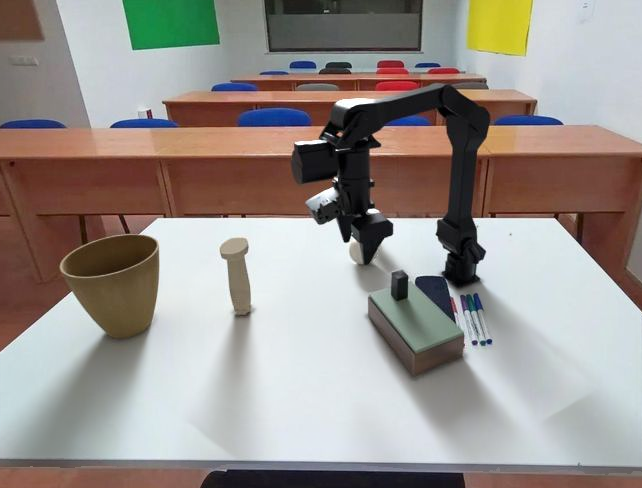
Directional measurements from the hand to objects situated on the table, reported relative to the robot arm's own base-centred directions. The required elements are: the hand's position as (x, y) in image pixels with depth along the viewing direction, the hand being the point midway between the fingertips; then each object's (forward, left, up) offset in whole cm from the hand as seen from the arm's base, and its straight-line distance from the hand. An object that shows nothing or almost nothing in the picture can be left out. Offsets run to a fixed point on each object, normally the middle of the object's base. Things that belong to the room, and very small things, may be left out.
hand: (355, 252), depth 74 cm
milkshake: (-17, -26, -14) cm, 34 cm away
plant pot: (+40, -16, -14) cm, 46 cm away
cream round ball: (-10, -17, -14) cm, 24 cm away
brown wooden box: (-7, +10, -14) cm, 18 cm away
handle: (+20, -11, -14) cm, 27 cm away
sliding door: (-7, +10, -9) cm, 15 cm away
